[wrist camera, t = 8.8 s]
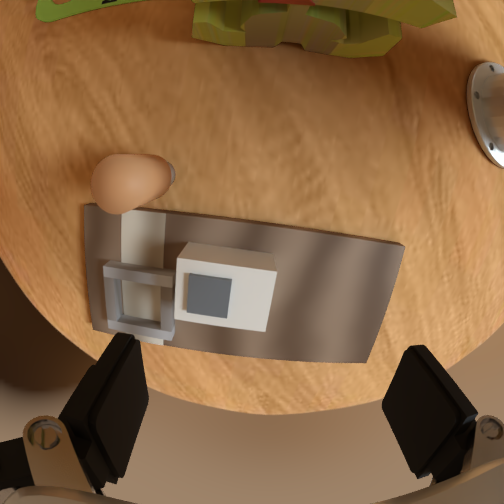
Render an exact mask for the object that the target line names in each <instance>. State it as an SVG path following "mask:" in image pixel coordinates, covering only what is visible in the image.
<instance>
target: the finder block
mask: <svg viewBox="0 0 504 504" xmlns="http://www.w3.org/2000/svg"><path fill="white" fill-rule="evenodd" d="M276 275H277V269H276V264H275V260H274V255H273V254H272V253H265V252H258V251H250V250H243V249H236V248H229V247H222V246H215V245H208V244H200V243H193V242H188V243H187V245H186V246H185V247H184V249H183V250H182V251H181V253H180V254H179V256H178V257H177V267H176V286H175V311H174V319H177V320H183V321H189V322H195V323H202V324H208V325H215V326H222V327H229V328H237V329H245V330H253V331H261V332H265V331H266V326H267V321H268V316H269V311H270V306H271V301H272V296H273V291H274V286H275V281H276Z"/></svg>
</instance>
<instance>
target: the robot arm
mask: <svg viewBox="0 0 504 504" xmlns="http://www.w3.org/2000/svg"><path fill="white" fill-rule="evenodd" d="M467 105H468V111H469V117H470V120H471V124H472V127H473V130H474V133H475V135H476V138H477V140H478V142H479V144H480V146H481V148H482V150H483V151H484V152H485V154H486V155H487V157H488V158H489V159H490V160H491V161H492V162H493V163H494V164H496V165H497V166H498V167H500V168H503V169H504V67H503V66H501V65H499V64H497V63H494V62H485V63H481V64H479V65H477V66H476V67H475V68H474V69H473V70H472V71H471V74H470V76H469V79H468V84H467ZM148 400H149V396H148V390H147V384H146V378H145V372H144V366H143V359H142V353H141V345H140V341H139V340H138V339H135V336H134V335H133V334H128V333H121V332H117V333H116V334H115V336H114V337H113V339H112V340H111V342H110V343H109V345H108V346H107V348H106V349H105V351H104V352H103V354H102V355H101V357H100V358H99V360H98V361H97V363H96V365H92V366H91V367H90V368H89V369H88V370H87V372H86V374H85V375H84V377H83V378H82V380H81V381H80V383H79V385H78V386H77V388H76V389H75V391H74V392H73V394H72V396H71V397H70V399H69V401H68V402H67V404H66V405H65V407H64V409H63V410H62V412H61V414H60V415H59V417H58V419H57V418H55V417H52V416H38V417H36V418H33V419H32V420H30V421H29V422H28V423H27V424H26V426H25V428H24V430H23V437H21V438H17V439H13V440H9V441H4V442H0V504H135V503H132V502H127V501H123V500H119V499H115V498H111V497H106V495H105V493H104V491H103V489H102V488H103V487H104V486H105V483H106V481H107V482H111V483H114V484H117V481H118V478H119V477H120V478H123V477H124V475H125V472H126V469H127V465H128V462H129V459H130V456H131V453H132V450H133V447H134V443H135V441H136V438H137V435H138V432H139V429H140V426H141V423H142V420H143V417H144V414H145V411H146V408H147V405H148ZM382 409H383V412H384V414H385V416H386V418H387V420H388V422H389V424H390V426H391V429H392V431H393V433H394V435H395V437H396V439H397V441H398V444H399V446H400V448H401V450H402V452H403V455H404V457H405V459H406V461H407V464H408V466H409V468H410V470H411V472H412V473H415V475H416V477H417V479H419V478H422V477H425V476H428V475H429V474H430V473H432V475H433V478H432V481H431V484H430V486H429V487H427V488H424V489H421V490H418V491H415V492H412V493H409V494H406V495H403V496H399V497H396V498H392V499H389V500H385V501H381V502H377V503H372V504H504V424H503V423H502V421H501V420H499V419H498V418H496V417H494V416H490V415H486V416H482V417H480V418H479V419H478V421H477V422H476V421H475V417H476V416H477V415H478V412H477V410H476V409H475V408H474V406H473V405H472V404H471V402H470V401H469V400H468V398H467V397H466V396H465V394H464V393H463V392H462V391H461V389H459V387H458V385H457V384H456V383H455V382H454V380H453V379H452V378H451V377H450V375H449V374H448V373H447V372H446V370H445V369H444V368H443V367H442V365H441V364H440V363H439V362H438V361H437V359H436V358H435V357H434V356H433V354H432V353H431V352H430V351H429V350H428V348H427V347H426V346H425V345H413V346H409V347H408V349H407V350H405V351H404V353H403V356H402V358H401V361H400V363H399V366H398V368H397V370H396V373H395V375H394V377H393V379H392V382H391V384H390V386H389V388H388V390H387V392H386V395H385V397H384V399H383V401H382Z"/></svg>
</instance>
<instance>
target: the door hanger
mask: <svg viewBox="0 0 504 504" xmlns="http://www.w3.org/2000/svg"><path fill="white" fill-rule="evenodd" d="M138 1H145V0H71V1H69V2H67V3H63V4H60V5H58V4H54V3H53V1H52V0H38V3H37V6H36V18H37V19H38V20H40V21H43V22H53V21H56V20H59V19H62V18H66V17H69V16H72V15H76V14H79V13H83V12H87V11H91V10H95V9H100V8H104V7H109V6H114V5H119V4H125V3H131V2H138Z"/></svg>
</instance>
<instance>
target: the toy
mask: <svg viewBox="0 0 504 504" xmlns="http://www.w3.org/2000/svg"><path fill="white" fill-rule="evenodd" d="M191 1H192V2H193V3H195V10H194V17H193V26H192V38H196V39H200V40H204V41H209V42H213V43H217V44H221V45H226V46H247V47H275V46H276V45H278V44H279V43H280V42H293V43H300V44H301V45H302V46H303V48H304V50H305V51H311V52H317V53H322V54H327V55H334V56H341V57H347V58H358V57H373V56H384V55H385V54H386V53H387V52H388V51H389V50H390V49H391V48H392V47H393V46H394V45H395V44H396V43H398V42H399V41H400V40H401V39H402V31H401V22H403V23H407V24H410V25H413V26H416V27H419V28H424V27H427V26H430V25H433V24H436V23H439V22H442V21H446V20H449V19H452V18H456V17H457V16H456V11H455V7H454V3H453V0H191Z"/></svg>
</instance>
